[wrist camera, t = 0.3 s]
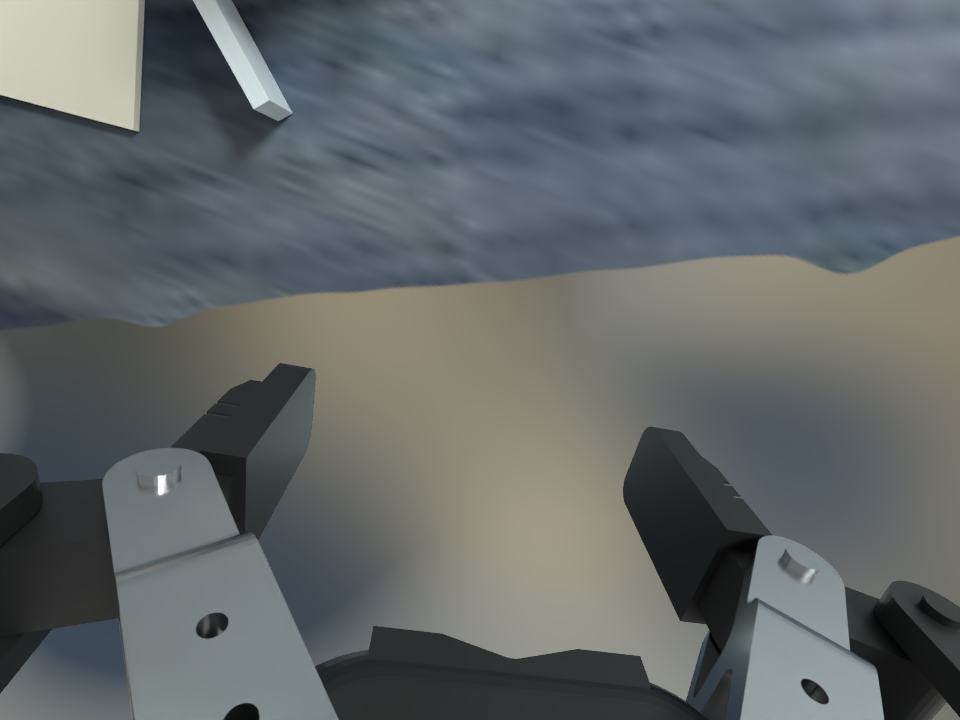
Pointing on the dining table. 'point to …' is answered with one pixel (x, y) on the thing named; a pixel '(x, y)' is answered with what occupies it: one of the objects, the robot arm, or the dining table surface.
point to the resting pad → (74, 56)
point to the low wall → (243, 57)
